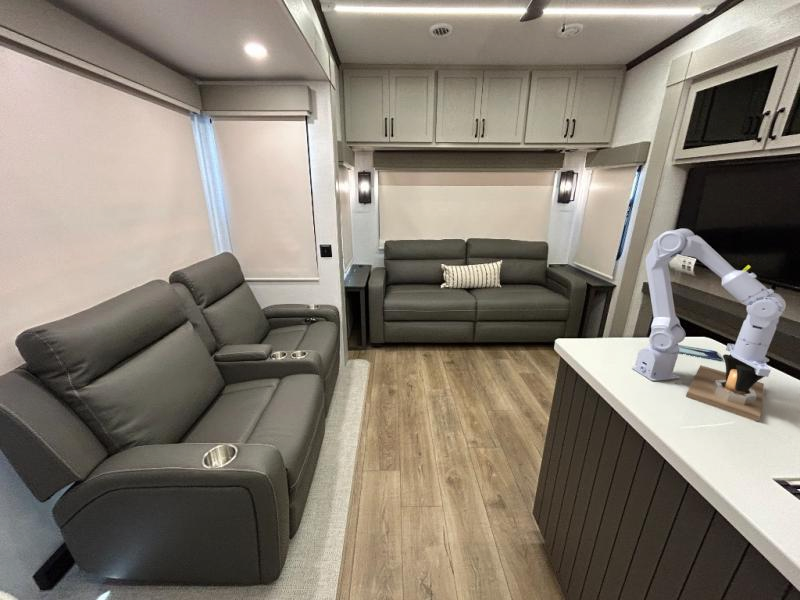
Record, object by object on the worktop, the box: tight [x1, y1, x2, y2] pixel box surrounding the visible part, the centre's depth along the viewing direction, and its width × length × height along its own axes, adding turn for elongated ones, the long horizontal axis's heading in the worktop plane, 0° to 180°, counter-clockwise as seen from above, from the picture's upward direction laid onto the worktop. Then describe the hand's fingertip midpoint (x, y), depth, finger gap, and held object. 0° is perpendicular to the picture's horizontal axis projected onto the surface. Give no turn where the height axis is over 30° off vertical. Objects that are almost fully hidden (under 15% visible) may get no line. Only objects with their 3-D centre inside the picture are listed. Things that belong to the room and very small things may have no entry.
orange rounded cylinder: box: [725, 369, 746, 394], centre depth 88 cm, size 4×4×6 cm
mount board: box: [685, 364, 765, 423], centre depth 93 cm, size 22×14×2 cm, turn 132°
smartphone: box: [678, 344, 724, 362], centre depth 117 cm, size 7×1×15 cm
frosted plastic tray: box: [713, 380, 757, 405], centre depth 89 cm, size 8×8×2 cm
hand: (735, 386), depth 89 cm, fingers closed on orange rounded cylinder, 4 cm apart
